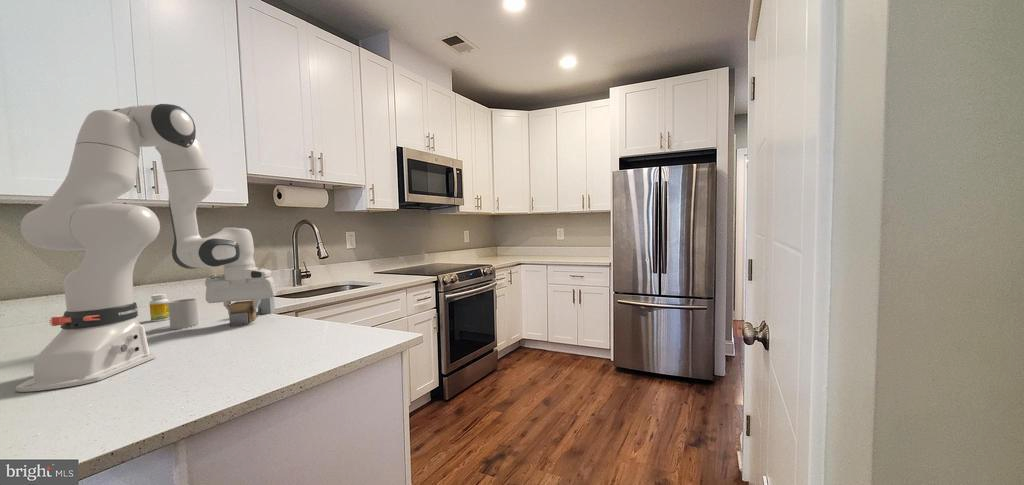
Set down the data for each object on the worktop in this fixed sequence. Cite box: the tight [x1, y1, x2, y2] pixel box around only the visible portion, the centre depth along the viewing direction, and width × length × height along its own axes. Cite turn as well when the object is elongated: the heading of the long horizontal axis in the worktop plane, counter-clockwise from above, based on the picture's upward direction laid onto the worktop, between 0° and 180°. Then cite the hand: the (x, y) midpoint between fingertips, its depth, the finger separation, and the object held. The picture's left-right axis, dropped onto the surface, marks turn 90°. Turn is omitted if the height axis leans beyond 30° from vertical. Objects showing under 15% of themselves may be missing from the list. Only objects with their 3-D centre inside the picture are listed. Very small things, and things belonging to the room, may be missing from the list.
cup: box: [168, 298, 199, 330], centre depth 128 cm, size 7×10×9 cm
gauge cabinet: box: [255, 296, 276, 315], centre depth 144 cm, size 4×6×8 cm
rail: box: [228, 308, 262, 327], centre depth 133 cm, size 16×5×4 cm, turn 16°
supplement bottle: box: [149, 293, 170, 323], centre depth 139 cm, size 5×5×10 cm
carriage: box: [230, 300, 257, 324], centre depth 130 cm, size 6×5×7 cm
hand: (243, 313), depth 130 cm, fingers closed on carriage, 5 cm apart
